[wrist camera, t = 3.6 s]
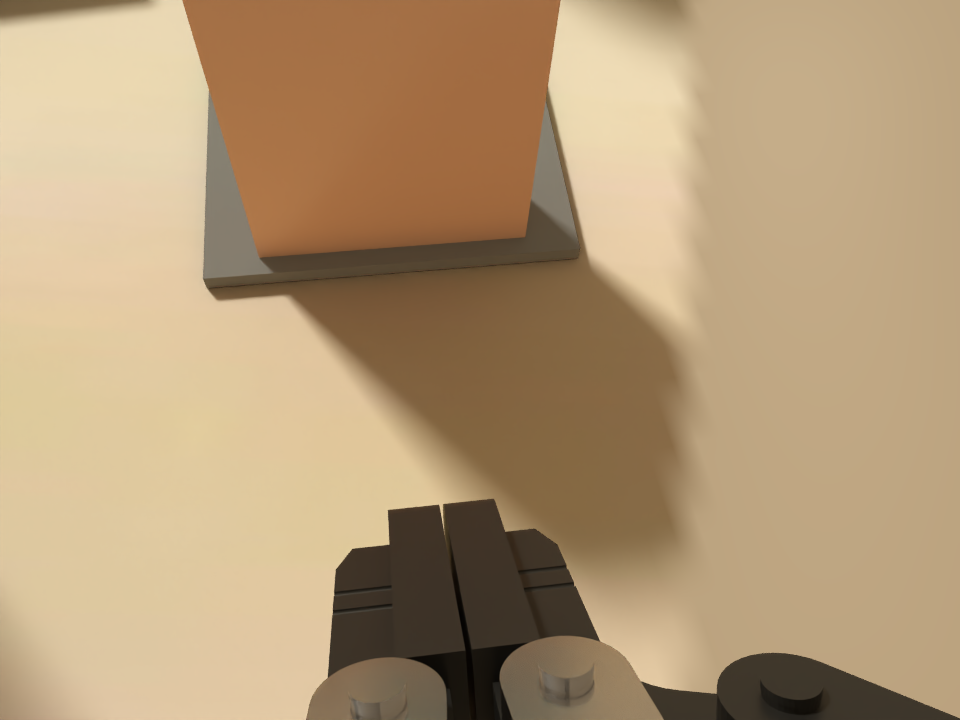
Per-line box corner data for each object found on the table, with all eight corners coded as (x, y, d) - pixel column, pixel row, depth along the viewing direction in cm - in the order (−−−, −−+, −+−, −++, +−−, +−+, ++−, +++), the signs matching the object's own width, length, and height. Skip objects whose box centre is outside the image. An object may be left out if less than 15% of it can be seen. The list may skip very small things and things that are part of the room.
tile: (258, 257, 32) (150, -106, 20) (258, 201, 33) (156, -172, 21) (525, 237, 33) (578, -121, 21) (514, 184, 34) (558, -183, 22)
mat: (206, 288, 32) (203, 278, 31) (216, -42, 41) (213, -54, 41) (577, 258, 33) (580, 249, 33) (506, -54, 43) (507, -65, 42)
